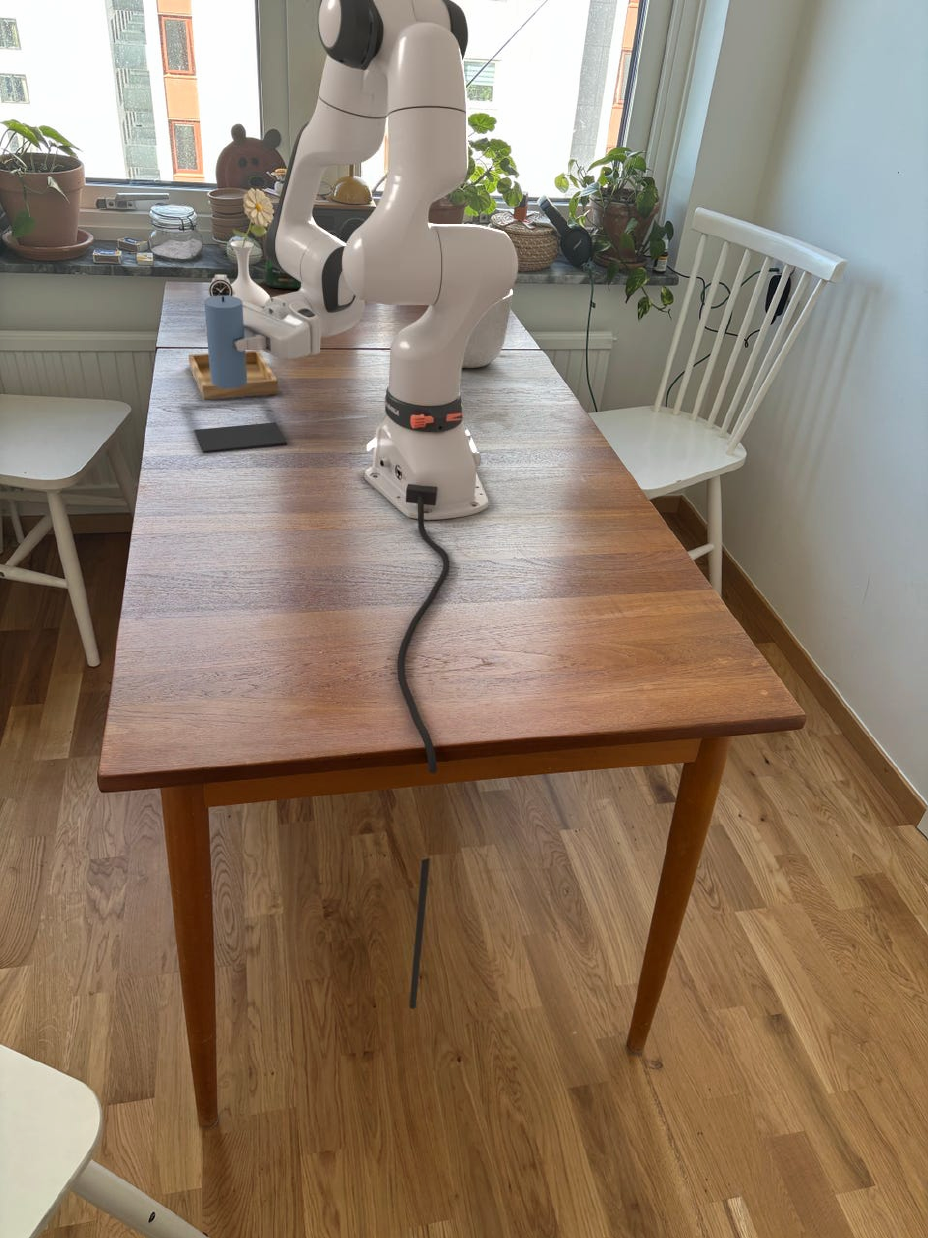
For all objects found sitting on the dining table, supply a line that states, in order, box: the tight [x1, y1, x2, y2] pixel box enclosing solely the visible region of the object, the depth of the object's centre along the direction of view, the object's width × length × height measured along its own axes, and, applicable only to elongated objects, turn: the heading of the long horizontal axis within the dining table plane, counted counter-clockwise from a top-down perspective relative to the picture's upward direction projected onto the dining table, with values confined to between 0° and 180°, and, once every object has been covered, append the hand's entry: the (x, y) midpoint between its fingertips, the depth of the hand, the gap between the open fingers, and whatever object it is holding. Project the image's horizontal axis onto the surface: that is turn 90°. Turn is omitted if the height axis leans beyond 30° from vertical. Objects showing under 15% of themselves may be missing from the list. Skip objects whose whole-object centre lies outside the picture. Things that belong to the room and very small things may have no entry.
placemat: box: [193, 421, 288, 454], centre depth 163 cm, size 18×14×1 cm
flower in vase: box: [230, 187, 274, 308], centre depth 205 cm, size 13×11×25 cm
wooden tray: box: [187, 350, 279, 400], centre depth 177 cm, size 16×14×3 cm
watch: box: [208, 274, 235, 297], centre depth 197 cm, size 6×8×11 cm
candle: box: [203, 296, 247, 388], centre depth 154 cm, size 6×6×14 cm
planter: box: [462, 288, 514, 369], centre depth 192 cm, size 17×17×15 cm
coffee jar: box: [264, 202, 301, 290], centre depth 221 cm, size 10×8×19 cm
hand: (221, 339), depth 153 cm, fingers closed on candle, 6 cm apart
